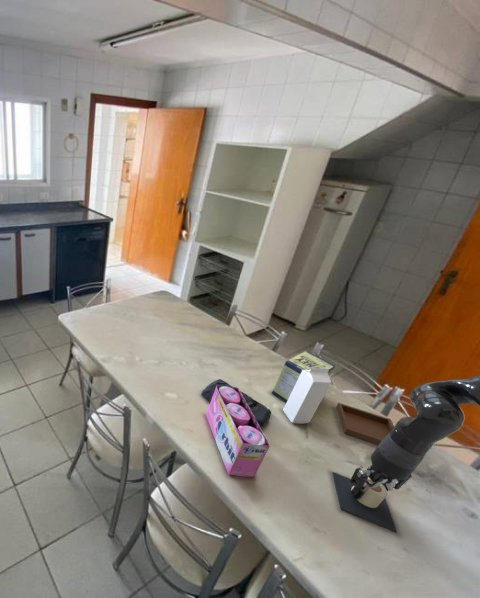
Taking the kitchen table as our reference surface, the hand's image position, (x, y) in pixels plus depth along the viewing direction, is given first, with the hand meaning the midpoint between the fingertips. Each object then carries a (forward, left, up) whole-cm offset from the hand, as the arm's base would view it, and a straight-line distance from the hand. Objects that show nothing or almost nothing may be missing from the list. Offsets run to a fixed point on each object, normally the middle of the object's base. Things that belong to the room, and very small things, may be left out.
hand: (365, 495), depth 89 cm
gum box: (+35, -2, -2) cm, 35 cm away
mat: (0, 0, -2) cm, 2 cm away
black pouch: (+34, -21, -2) cm, 40 cm away
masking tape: (0, 0, -1) cm, 1 cm away
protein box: (+13, -39, -2) cm, 41 cm away
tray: (-8, -32, -2) cm, 33 cm away
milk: (+14, -26, -2) cm, 30 cm away
